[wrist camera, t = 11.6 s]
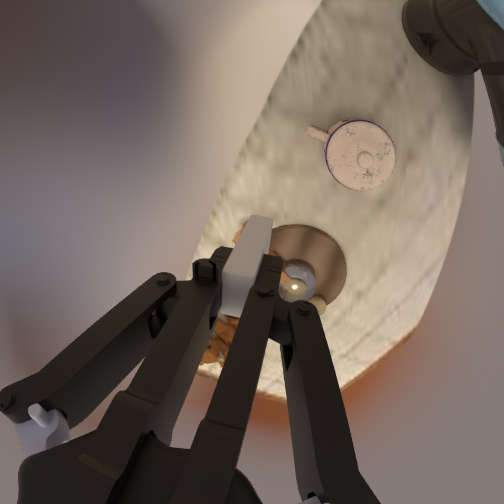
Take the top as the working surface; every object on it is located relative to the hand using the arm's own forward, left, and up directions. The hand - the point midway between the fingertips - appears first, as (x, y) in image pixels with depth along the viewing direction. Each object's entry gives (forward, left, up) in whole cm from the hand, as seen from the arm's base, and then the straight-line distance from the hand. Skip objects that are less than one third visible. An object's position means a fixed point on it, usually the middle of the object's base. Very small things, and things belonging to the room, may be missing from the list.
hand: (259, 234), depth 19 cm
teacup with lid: (-8, -4, -26) cm, 28 cm away
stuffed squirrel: (+7, +37, -27) cm, 46 cm away
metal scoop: (-1, +17, -24) cm, 29 cm away
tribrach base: (-5, +20, -26) cm, 33 cm away
